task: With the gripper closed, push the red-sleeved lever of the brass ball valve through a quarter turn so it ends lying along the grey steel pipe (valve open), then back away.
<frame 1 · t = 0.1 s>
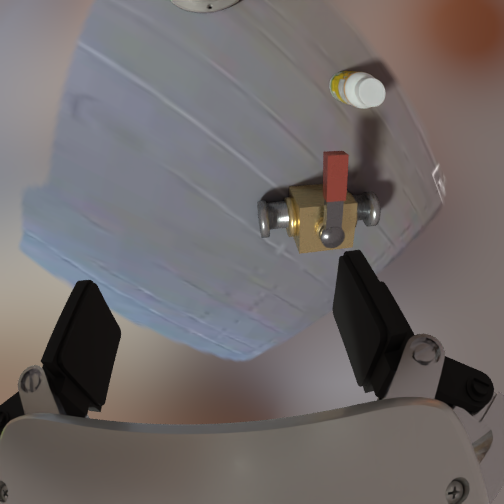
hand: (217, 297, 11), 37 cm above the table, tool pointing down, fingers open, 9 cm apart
lever: (334, 202, 39), point 10 cm above the table, hinge at 90.0°
supplement bottle: (344, 86, 38), on the table
valve: (314, 205, 50), on the table
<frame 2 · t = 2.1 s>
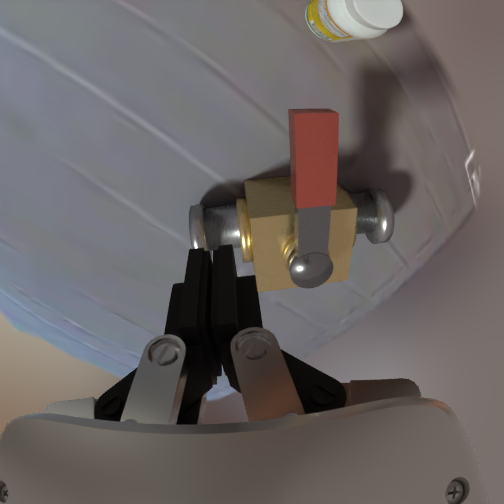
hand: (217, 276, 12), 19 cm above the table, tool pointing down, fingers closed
lever: (312, 209, 21), point 10 cm above the table, hinge at 90.0°
supplement bottle: (330, 19, 20), on the table
valve: (288, 209, 32), on the table
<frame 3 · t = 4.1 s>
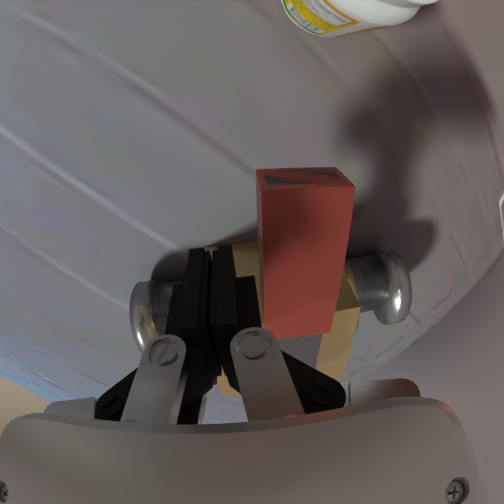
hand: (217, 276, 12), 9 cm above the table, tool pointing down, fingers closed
lever: (293, 330, 13), point 10 cm above the table, hinge at 86.3°, touching gripper
supplement bottle: (321, 2, 12), on the table
valve: (268, 280, 24), on the table
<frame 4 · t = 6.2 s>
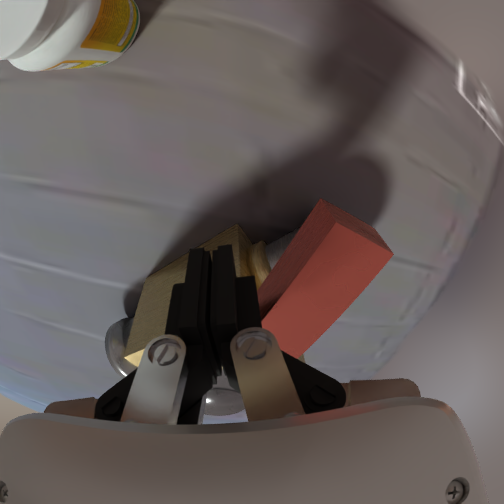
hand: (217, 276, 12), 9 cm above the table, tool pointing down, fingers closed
lever: (260, 346, 13), point 10 cm above the table, hinge at 30.7°, touching gripper
supplement bottle: (104, 29, 12), on the table
valve: (217, 286, 24), on the table
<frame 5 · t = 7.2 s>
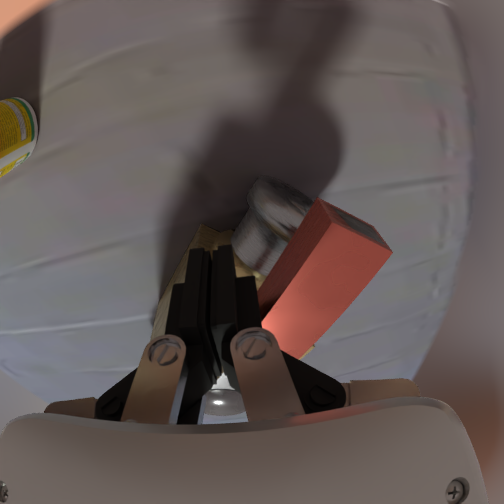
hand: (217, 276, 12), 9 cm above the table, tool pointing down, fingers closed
lever: (262, 347, 13), point 10 cm above the table, hinge at 5.3°, touching gripper
supplement bottle: (17, 128, 15), on the table
valve: (221, 286, 24), on the table
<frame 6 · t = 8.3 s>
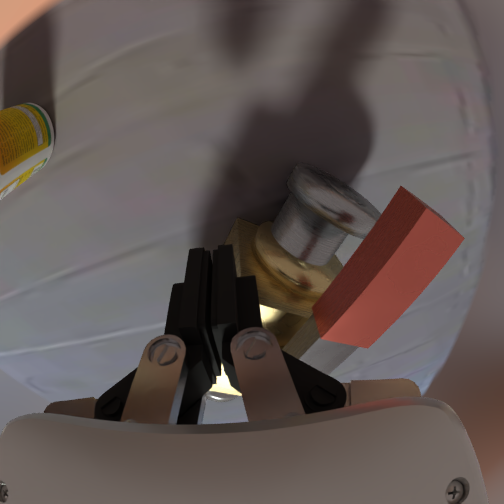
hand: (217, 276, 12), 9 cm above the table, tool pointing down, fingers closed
lever: (332, 337, 13), point 10 cm above the table, hinge at -0.2°
supplement bottle: (30, 135, 15), on the table
valve: (260, 280, 23), on the table
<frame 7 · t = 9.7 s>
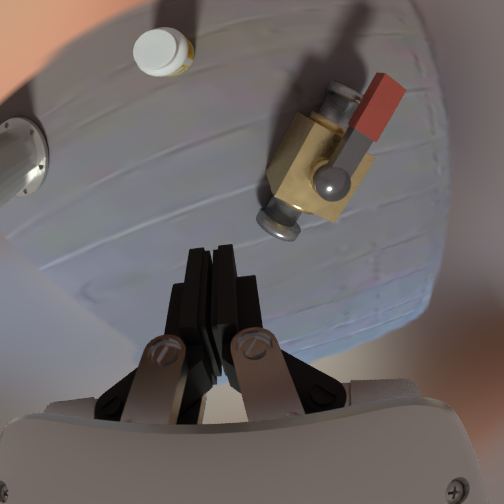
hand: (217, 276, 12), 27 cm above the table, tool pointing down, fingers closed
lever: (358, 138, 25), point 10 cm above the table, hinge at -0.2°
supplement bottle: (173, 55, 27), on the table
valve: (307, 155, 36), on the table
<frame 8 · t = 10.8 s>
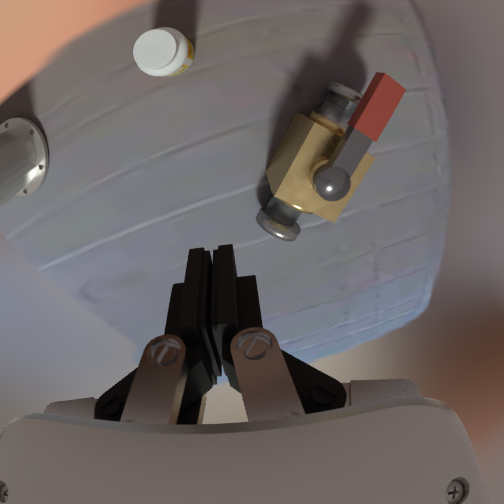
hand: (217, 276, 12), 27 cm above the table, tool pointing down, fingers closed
lever: (358, 138, 25), point 10 cm above the table, hinge at -0.2°
supplement bottle: (173, 55, 27), on the table
valve: (307, 154, 36), on the table
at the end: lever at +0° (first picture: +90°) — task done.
